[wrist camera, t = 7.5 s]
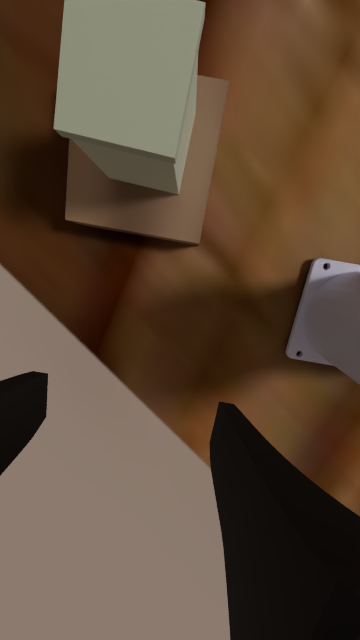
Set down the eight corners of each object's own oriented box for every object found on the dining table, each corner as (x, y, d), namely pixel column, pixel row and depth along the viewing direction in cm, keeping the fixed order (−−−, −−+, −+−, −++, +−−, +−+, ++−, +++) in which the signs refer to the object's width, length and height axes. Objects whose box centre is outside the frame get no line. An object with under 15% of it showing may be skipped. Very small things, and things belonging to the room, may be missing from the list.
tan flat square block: (222, 112, 17) (229, 81, 14) (197, 246, 19) (199, 243, 16) (93, 88, 17) (73, 52, 14) (84, 225, 19) (65, 219, 16)
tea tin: (198, 110, 14) (205, 2, 8) (180, 197, 15) (174, 157, 9) (118, 90, 14) (67, -32, 8) (106, 179, 15) (53, 128, 9)
